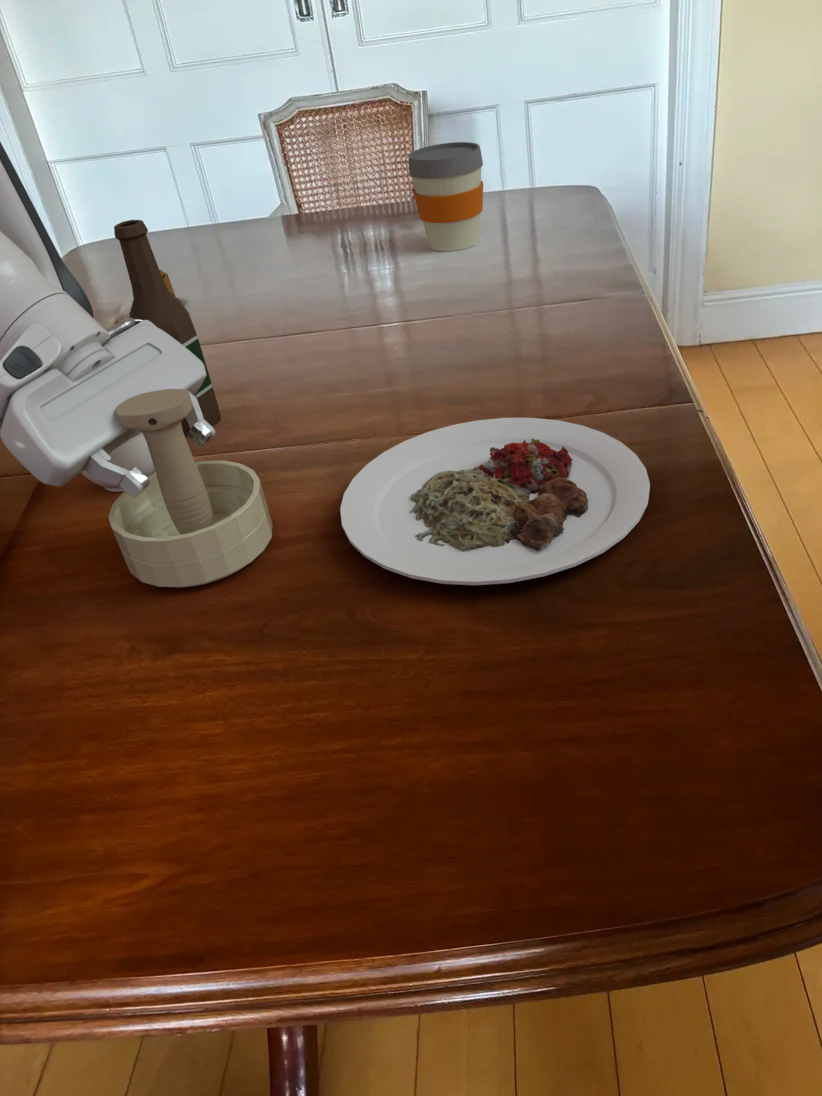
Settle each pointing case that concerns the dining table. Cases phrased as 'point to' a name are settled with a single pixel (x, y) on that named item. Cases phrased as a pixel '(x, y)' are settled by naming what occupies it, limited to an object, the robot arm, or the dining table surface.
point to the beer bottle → (162, 306)
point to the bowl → (201, 553)
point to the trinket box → (128, 460)
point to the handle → (170, 454)
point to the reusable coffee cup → (448, 193)
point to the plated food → (495, 501)
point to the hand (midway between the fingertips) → (177, 464)
